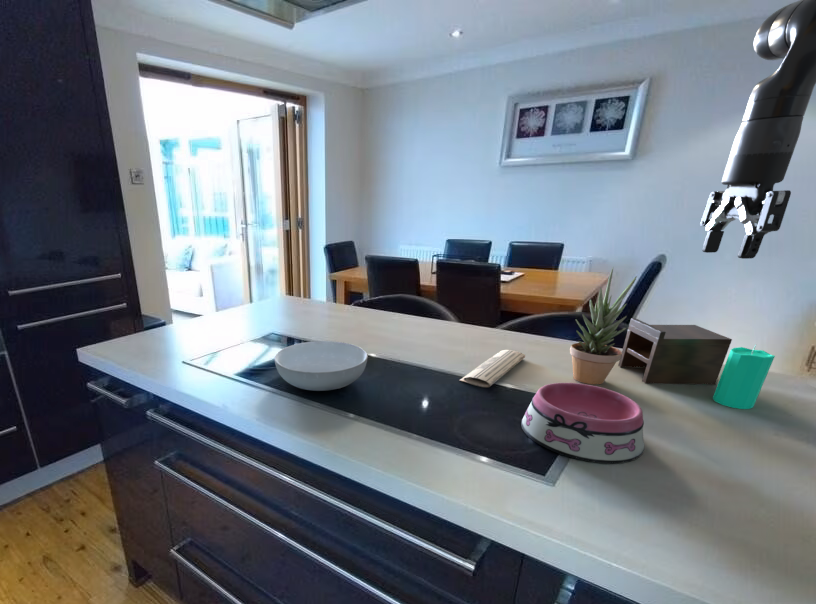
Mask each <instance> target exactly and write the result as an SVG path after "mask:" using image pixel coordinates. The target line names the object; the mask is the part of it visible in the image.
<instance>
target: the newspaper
mask: <svg viewBox="0 0 816 604" xmlns="http://www.w3.org/2000/svg"><path fill="white" fill-rule="evenodd" d="M525 358H526V354H524V353H523V352H520V351H517V350H513V349H503V350H500V351H498V352H496V353H495V354H493V355H491V356H490V357H489V358H488V359H486V360H485V361H484V362H482V363H481V364H479V365H478V366H477V367H475V368H474V369H473V370H471V371H470V372H468V373H467V374H465V375H464V376H463V377H462V378H460V379H459V380H458V381H461V382H464V383H467V384H470V385H473V386H477V387H481V388H490V387H491V386H493V385H494V384H495V383H496V382H497V381H498V380H500V379H501V378H502V377H503V376H505V375H506V374H507V373H508V372H509V371H511V370H512V369H513V368H514V367H515V366H517V365H518V364H519V363H520V362H522V361H523V360H524V359H525Z"/></svg>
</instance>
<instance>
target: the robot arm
mask: <svg viewBox="0 0 816 604" xmlns="http://www.w3.org/2000/svg"><path fill="white" fill-rule="evenodd" d="M753 50H754V52H755V54H756V55H757V56H758V57H760V58H761V59H763V60H765V61H781V60H782V62H781V63H780V65H779V66H778V68H777V69H776V70H775V71H774V72H773V73H772V74H770V75H769V76H767V77H765V78H763V79H762V80H760V81H758V82H757V83H756V84H755V85H754V86H753V88H752V90H751V92H750V95H749V98H748V100H747V104H746V107H745V110H744V113H743V116H742V120H741V123H740V125H739V128H738V130H737V132H736V135H735V137H734V139H733V142H732V145H731V149H730V152H729V155H728V159H727V162H726V165H725V168H724V171H723V175H722V176H721V177H722V178H721V181H720V183H721V184H722V185H724V186H727V187H726V188H725V190H716V191H711V192H710V193H709V195H708V199H707V201H706V205H705V208H704V210H703V213H702V216H701V219H700V222H699V225H700V227H704V228H705V231H707V232H706V236H705V238H704V242H703V245H702V249H701V250H702V252H703V253H709V254H710V253H711V254H712V253H717V252H718V251H719V249H720V245H721V243H722V239H723V236H724V233H725V231H724V230H725V229H726V228H727V226H728V225H729V224H731V223H732V222H734V221H736V220H739V222H740V223H741V224H743V225H744V228H745V229H744V230H745V233H746V234H745V235H744V236H743V239H742V242H741V245H740V248H739V250H738V254H737V258H739V259H745V260H746V259H747V260H748V259H754V258H755V257H756V256H757V255H758V252H759V250H760V247H761V245H762V242H763V239H764V237H765V235H767V234H769V233H772V232H778V231H779V230H780V229H781V226H782V223H783V220H784V216H785V214H786V210H787V207H788V205H789V201H790V197H791V195H792V194H791V193H792V192H791V190H787V189H786V190H774V187H775V185H776V184H779V183H781V182H783V181H784V179H785V177H786V174H787V171H788V169H789V165H790V163H791V160H792V157H793V154H794V151H795V149H796V146H797V143H798V140H799V139H800V135H801V130H802V125H803V121H804V118H805V117H804V116H805V114H806V111H807V109H808V106H809V103H810V100H811V98H812V95H813V92H814V88H815V86H816V0H797V1H794V2H792V3H789V4H787V5H785V6H782V7H781V8H779V9H777V10H776V11H774V12H773V13H771V14H770V15H769V16H768V17H767V18H766V19H765V20H764V21H763V22H762V24H761V25H760V26H759V28H758V29H757V31H756V33H755V35H754V38H753ZM772 215H773V217H772V221H771V222H769V220H770V218H771V216H772ZM710 217H712V218H710ZM756 224H757V225H756Z"/></svg>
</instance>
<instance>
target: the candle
mask: <svg viewBox="0 0 816 604" xmlns="http://www.w3.org/2000/svg"><path fill="white" fill-rule="evenodd" d="M756 346H757V344H754V346H753V349H752V348H748V347H743V346H739V347H732V348H731V349H730V350H729V354H728V356H727V359H726V361H725V364H724V367H723V369H722V372H721V375H720V377H719V380H718V382H717V385H716V387H715V391H714V392H713V396H712V400H713V401H714V402H715V403H718V404H720V405H722V406H725V407H729V408H732V409H733V408H734V409H740V410H751V409H753V408H754V407H755V404H756V402H757V400H758V397H759V395H760V392H761V390H762V388H763V385H764V384H765V381H766V378H767V375H768V373H769V371H770V369H771V367H772V365H773V361H774V360H775V358H776V355H774V354H770V353H769V352H767V351H765V350H763V349H756Z"/></svg>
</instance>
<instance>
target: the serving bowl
mask: <svg viewBox="0 0 816 604" xmlns="http://www.w3.org/2000/svg"><path fill="white" fill-rule="evenodd" d="M367 363H368V353H367V351H366V350H364V348H362V347H360V346H359V345H355V344H352V343H349V342H344V341H343V342H342V341H336V340H313V341H306V342H305V341H304V342H301V343H295V344H292V345H289V346H286V347H284V348H282V349H280V350H279V351H277V353H276V354H275V355H274V364H275V368H276V371H277V372H278V374H279V375H280V377H281V378H282V379H283V380H284V381H285V382H286V383H287V384H289V385H291V386H293V387H295V388H298V389H301V390H304V391H305V390H306V391H314V392H324V391H325V392H327V391H333V390H337V389H338V390H339V389H341V388H344V387H347V386H349V385H351V384H353V383H355V382H356V381H357V380H358V379H359V378H360V377H362V374H363V373H364V372H365V369H366V367H367Z"/></svg>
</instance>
